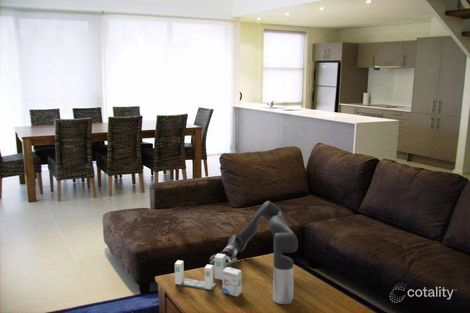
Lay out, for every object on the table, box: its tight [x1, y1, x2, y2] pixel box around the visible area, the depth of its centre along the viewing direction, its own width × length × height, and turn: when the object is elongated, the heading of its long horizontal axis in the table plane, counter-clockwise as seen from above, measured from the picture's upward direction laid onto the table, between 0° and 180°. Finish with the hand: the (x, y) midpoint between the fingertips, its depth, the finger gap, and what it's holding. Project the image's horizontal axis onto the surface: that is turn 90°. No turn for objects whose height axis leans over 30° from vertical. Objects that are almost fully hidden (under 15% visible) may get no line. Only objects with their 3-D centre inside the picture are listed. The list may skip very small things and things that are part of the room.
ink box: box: [222, 266, 243, 297], centre depth 212 cm, size 9×5×12 cm, turn 62°
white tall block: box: [213, 252, 227, 281], centre depth 228 cm, size 4×5×12 cm
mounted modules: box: [174, 259, 214, 290], centre depth 217 cm, size 19×4×11 cm, turn 73°
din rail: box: [174, 277, 217, 291], centre depth 220 cm, size 20×6×1 cm, turn 73°
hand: (219, 266), depth 226 cm, fingers open, 8 cm apart
